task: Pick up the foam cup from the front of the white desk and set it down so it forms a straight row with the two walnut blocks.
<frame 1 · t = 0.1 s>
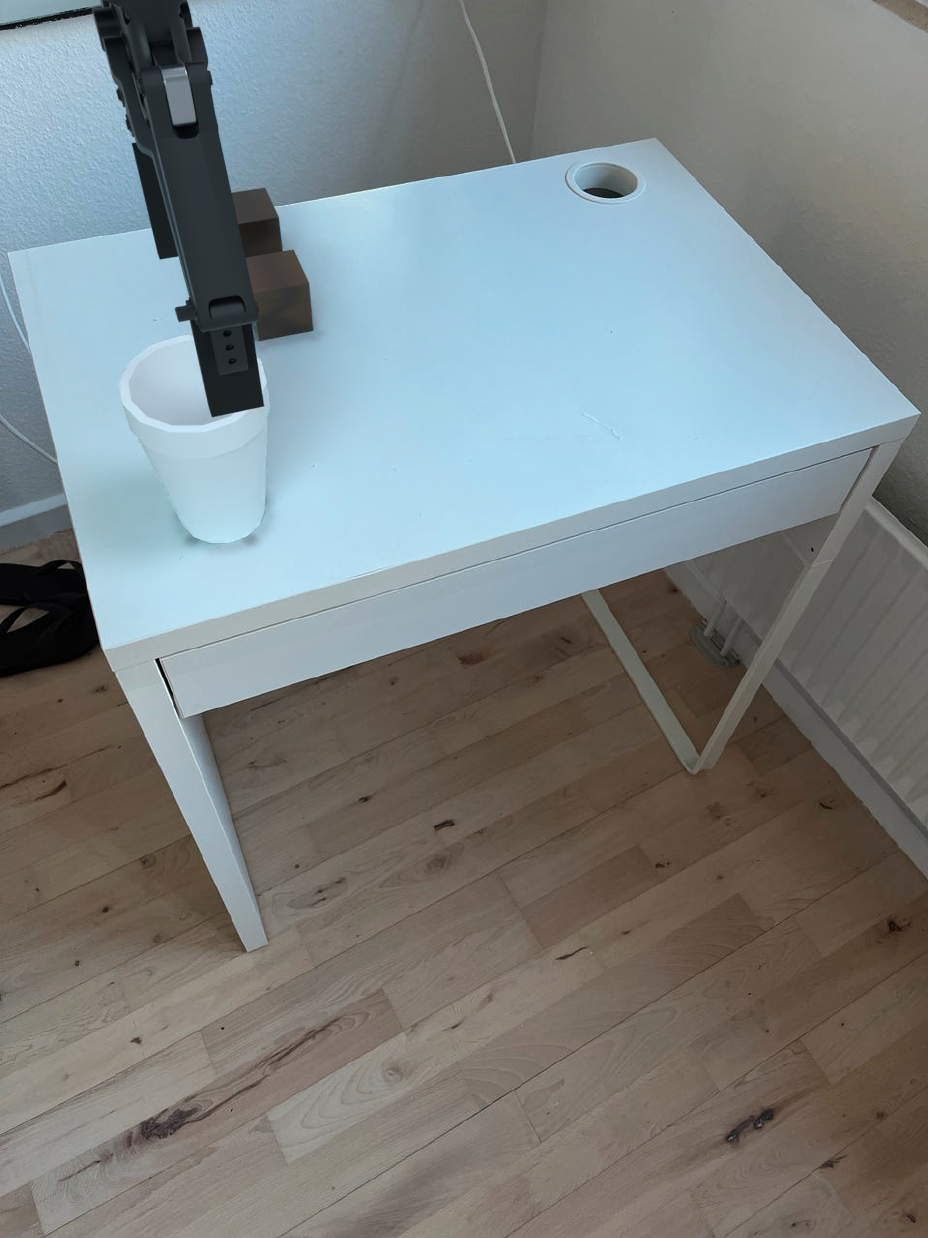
hand: (207, 324, 52), 22 cm above the table, tool pointing down, fingers open, 13 cm apart
foam cup: (223, 513, 72), on the table
walnut block near: (279, 318, 85), on the table
walnut block far: (252, 253, 90), on the table
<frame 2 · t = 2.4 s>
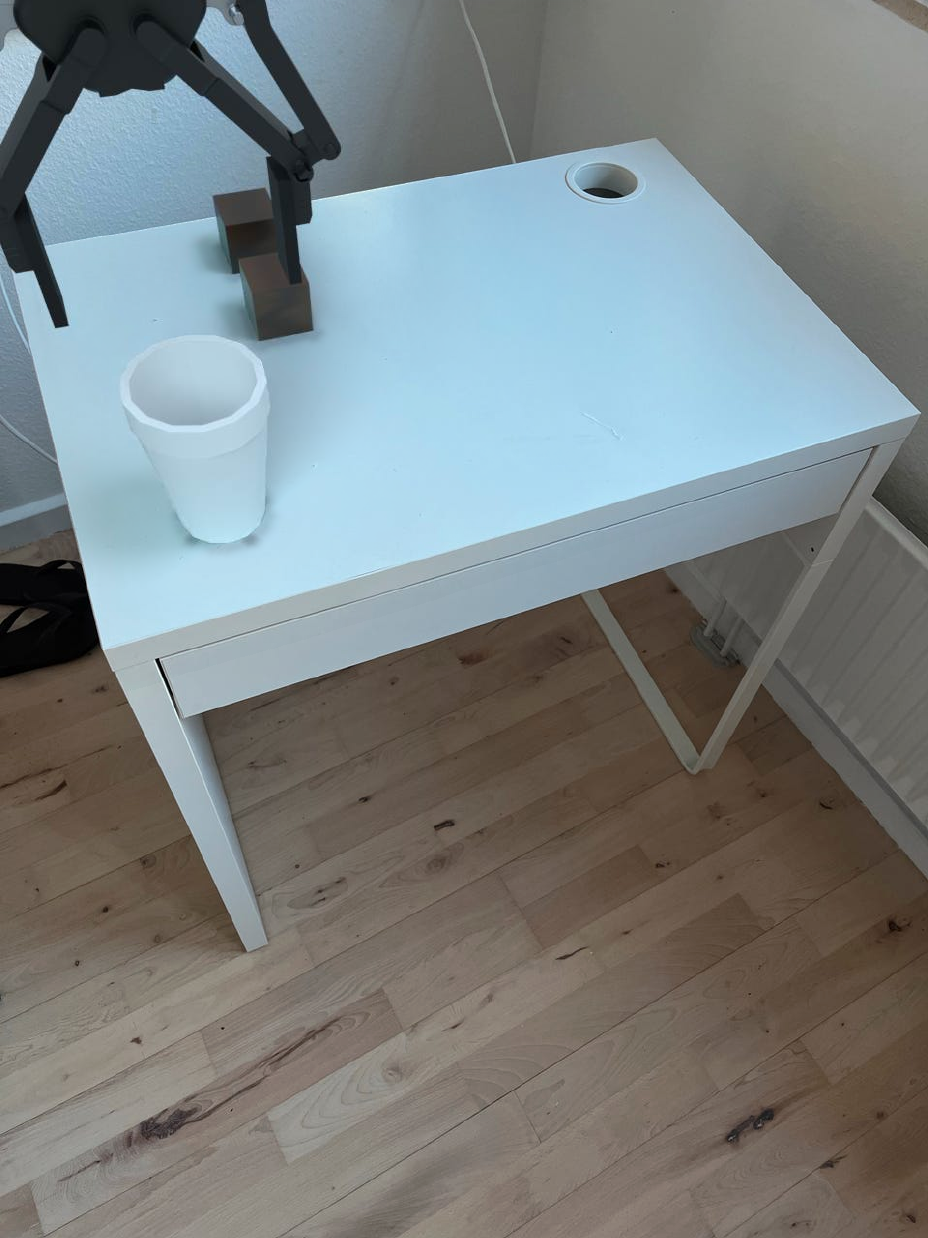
hand: (178, 291, 56), 20 cm above the table, tool pointing down, fingers open, 13 cm apart
nothing on the table moved.
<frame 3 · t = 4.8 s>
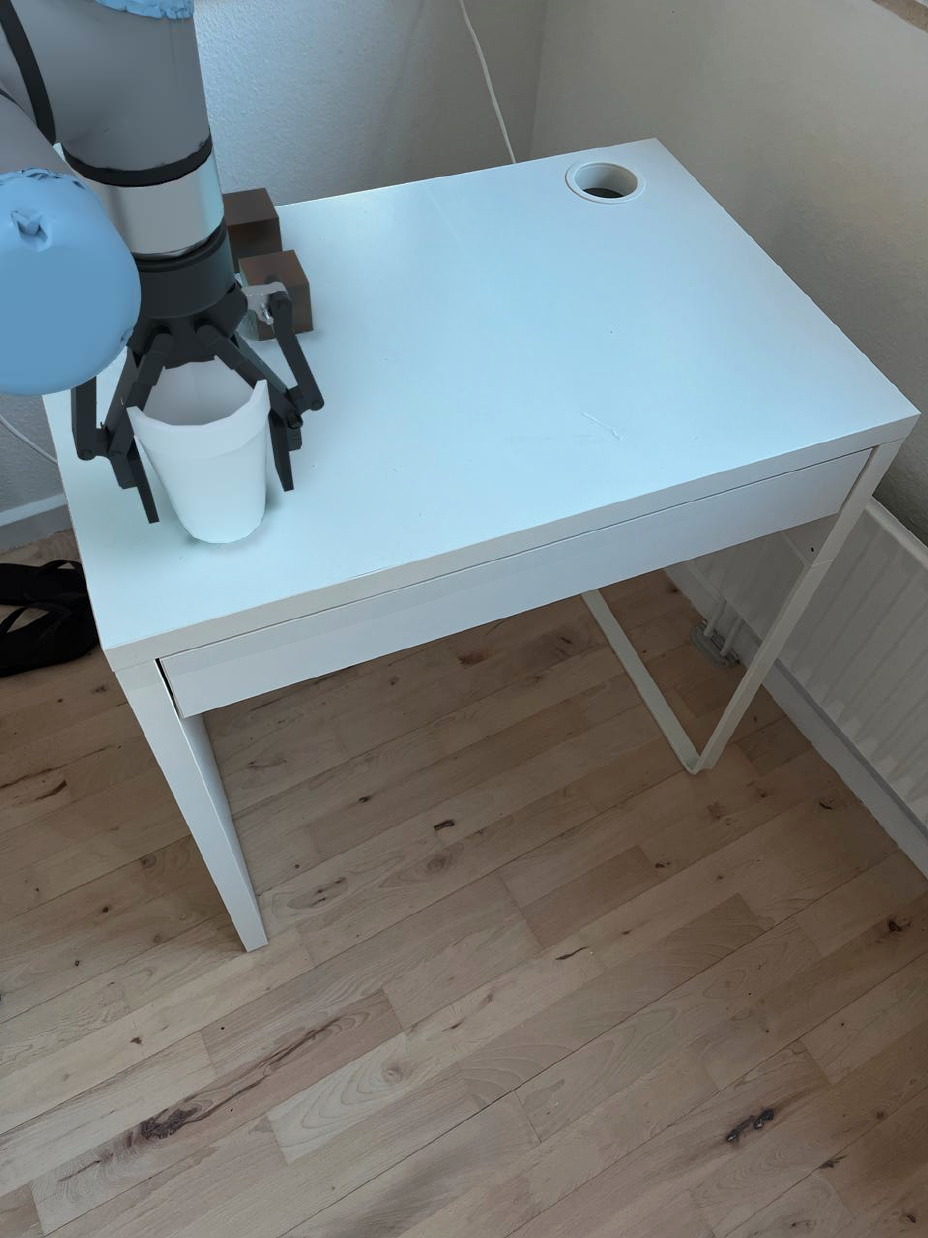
hand: (218, 493, 70), 2 cm above the table, tool pointing down, fingers closed on foam cup, 9 cm apart
foam cup: (223, 513, 72), on the table, touching gripper
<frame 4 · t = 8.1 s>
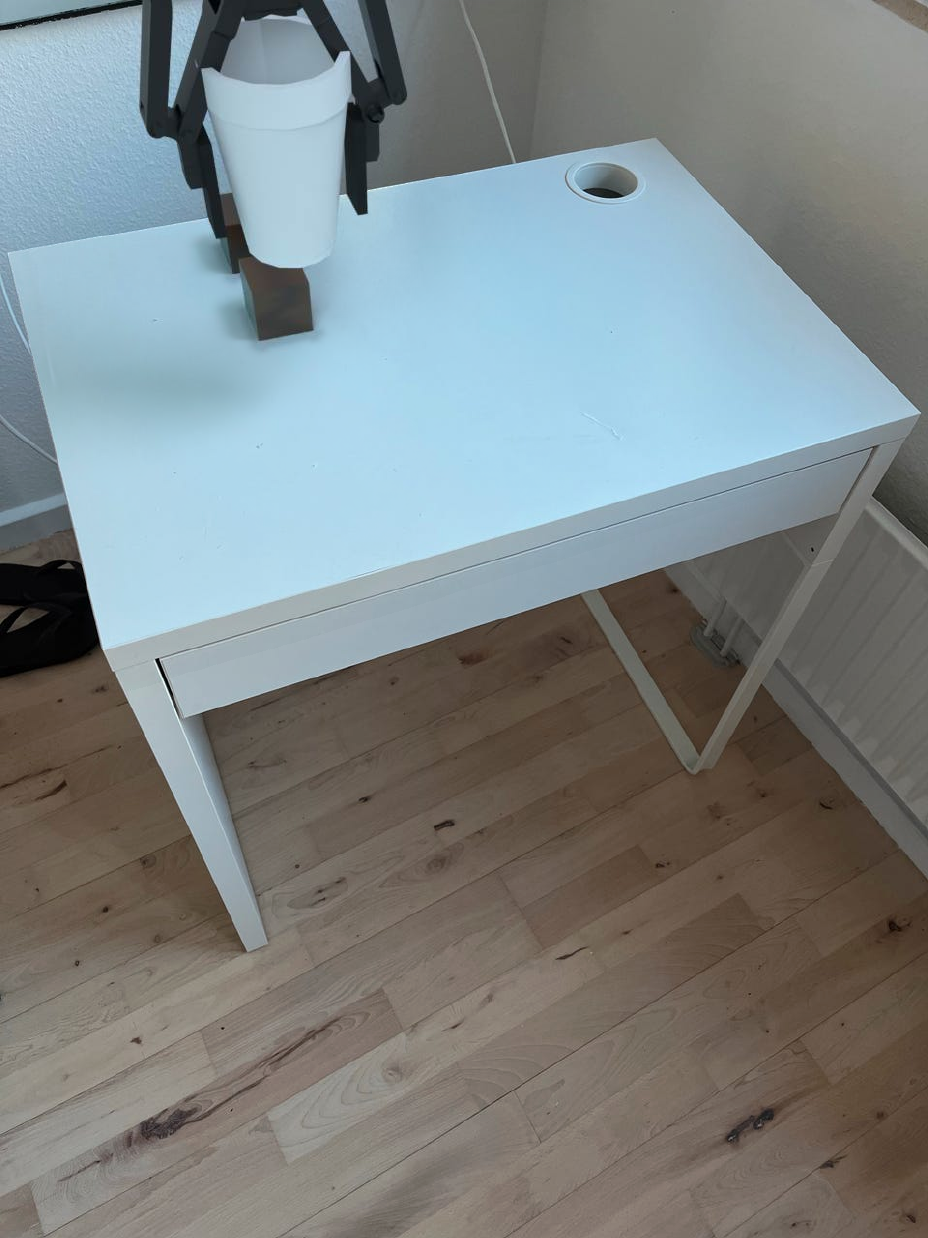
hand: (288, 214, 66), 17 cm above the table, tool pointing down, fingers closed on foam cup, 9 cm apart
foam cup: (291, 243, 68), point 15 cm above the table, touching gripper
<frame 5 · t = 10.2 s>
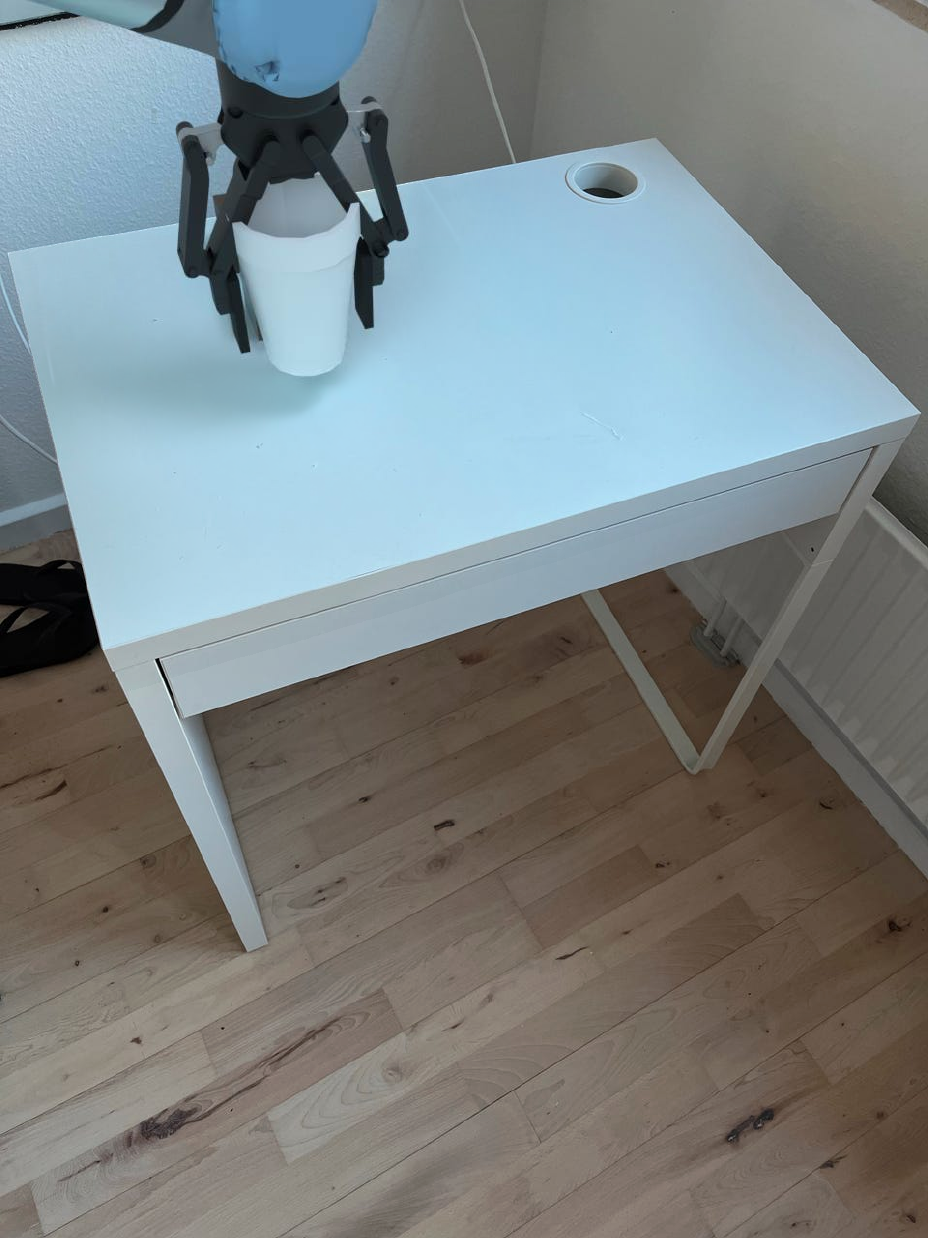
hand: (304, 329, 75), 6 cm above the table, tool pointing down, fingers closed on foam cup, 9 cm apart
foam cup: (306, 352, 77), point 4 cm above the table, touching gripper
when the fingers open (2 cm above the table, at t = 11.8 s): foam cup stays where it is, on the table.
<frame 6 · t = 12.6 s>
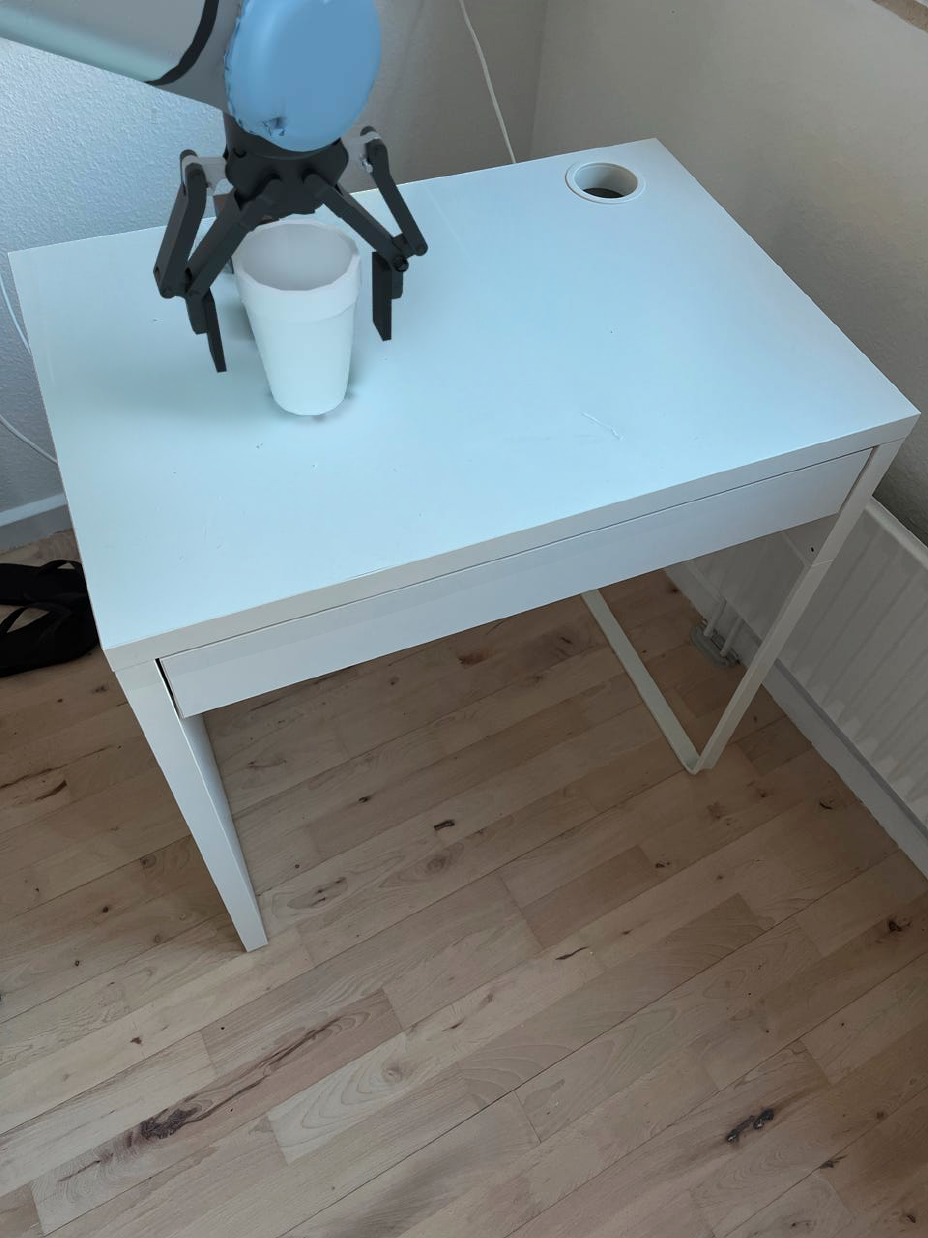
hand: (302, 345, 76), 5 cm above the table, tool pointing down, fingers open, 13 cm apart
foam cup: (309, 391, 80), on the table
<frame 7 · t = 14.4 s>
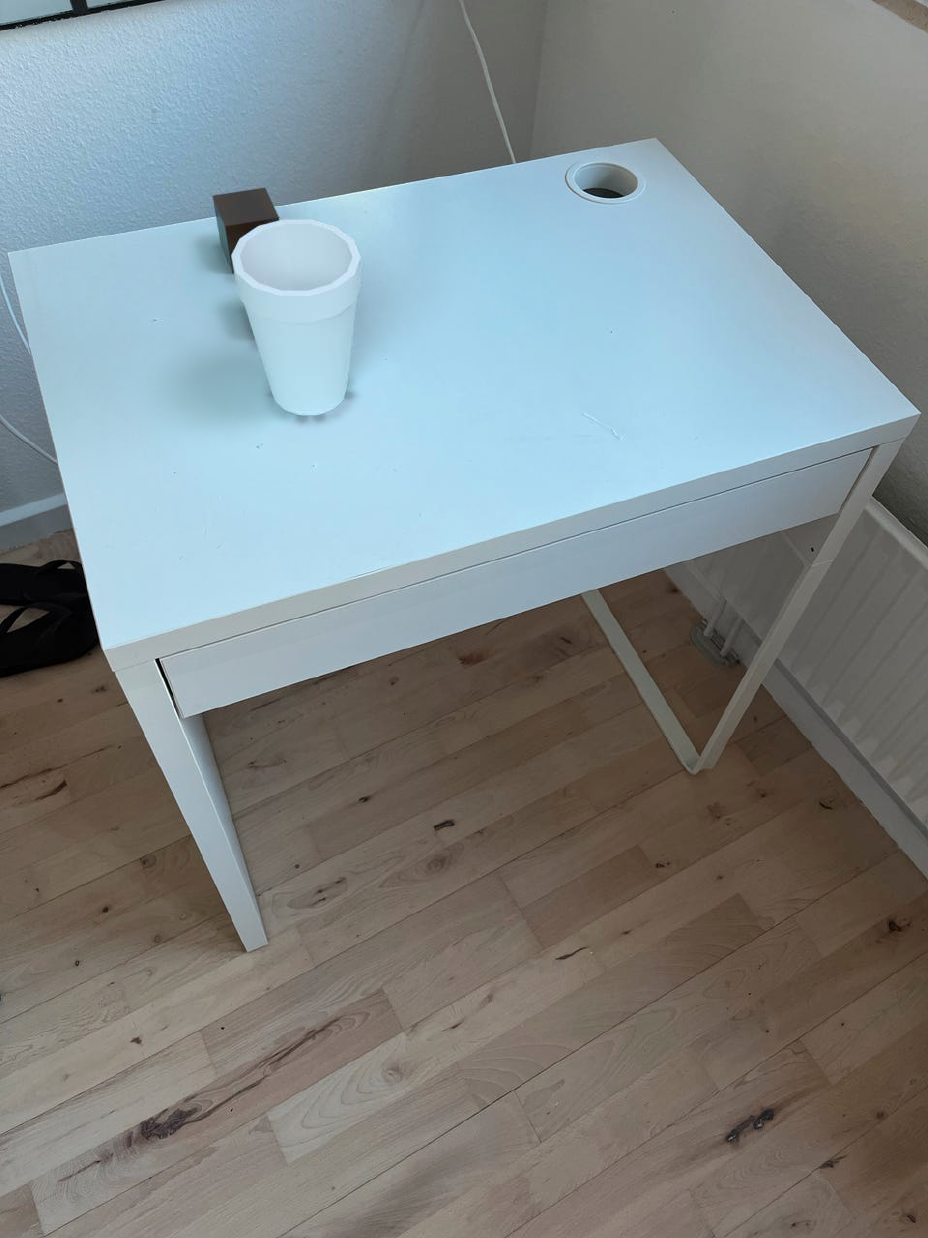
nothing on the table moved.
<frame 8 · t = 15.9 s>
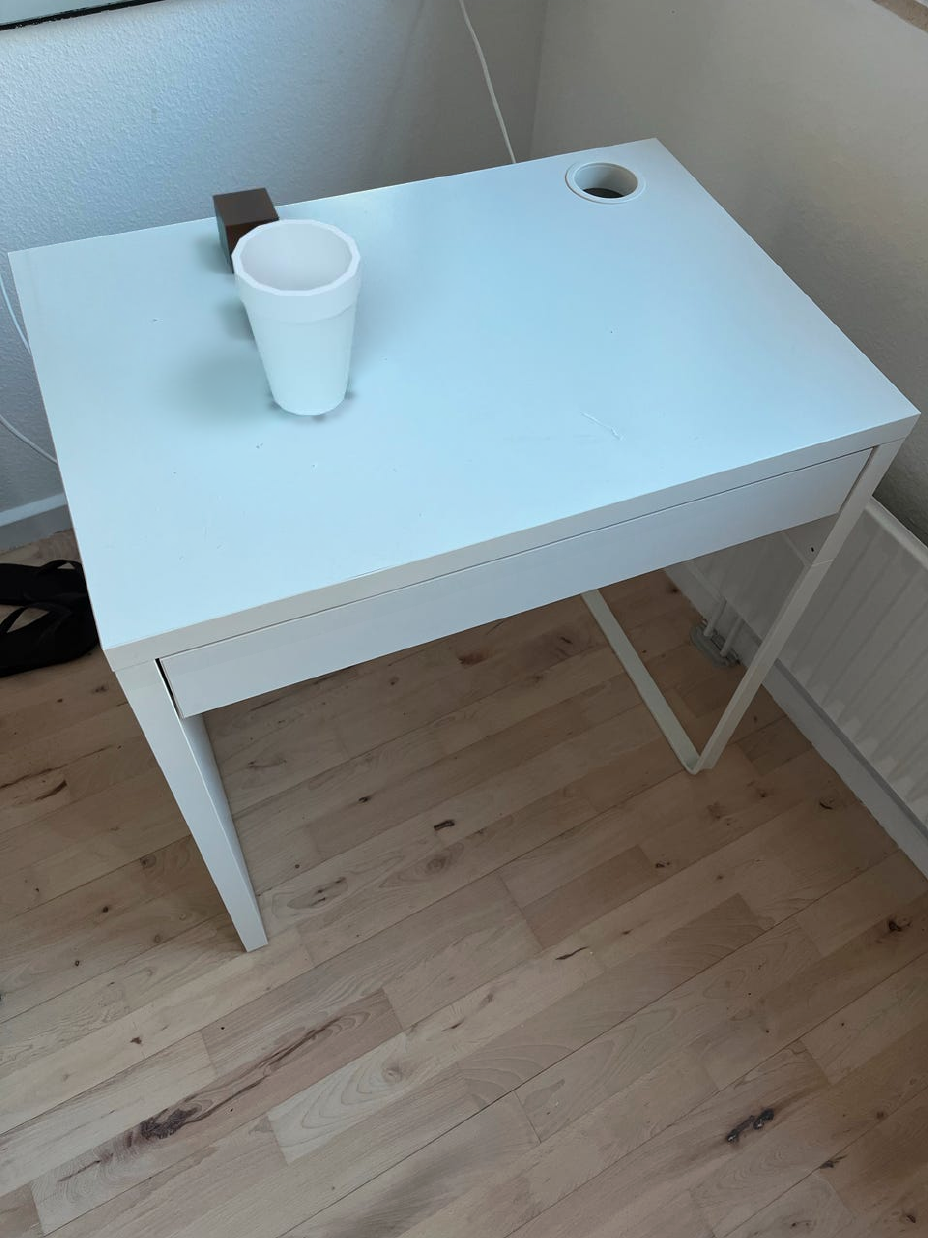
nothing on the table moved.
at the end: foam cup 0.1 cm from the target spot on the table beside the walnut block far, on the table; foam cup tilted 0°; the gripper is holding nothing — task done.
